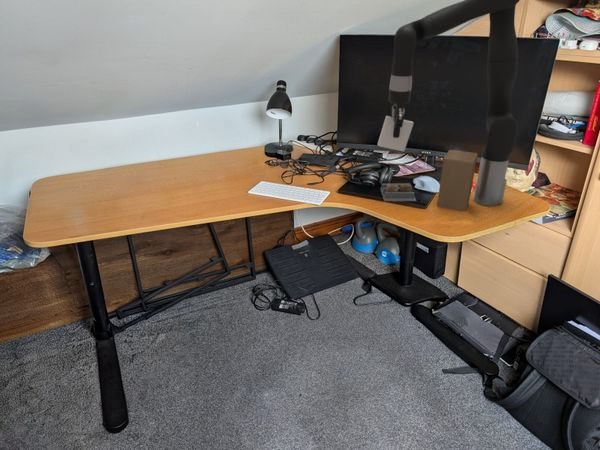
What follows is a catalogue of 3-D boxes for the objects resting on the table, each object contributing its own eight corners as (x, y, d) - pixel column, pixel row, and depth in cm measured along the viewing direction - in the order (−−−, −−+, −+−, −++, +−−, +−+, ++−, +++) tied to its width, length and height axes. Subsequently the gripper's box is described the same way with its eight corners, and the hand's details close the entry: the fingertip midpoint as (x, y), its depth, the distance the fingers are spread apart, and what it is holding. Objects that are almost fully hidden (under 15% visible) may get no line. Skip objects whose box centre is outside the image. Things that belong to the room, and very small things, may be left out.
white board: (403, 149, 171) (412, 121, 165) (404, 151, 169) (413, 123, 164) (377, 144, 170) (386, 115, 165) (378, 146, 168) (386, 117, 163)
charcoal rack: (410, 191, 181) (411, 183, 179) (416, 204, 170) (417, 195, 169) (379, 191, 181) (380, 183, 180) (383, 204, 171) (384, 196, 169)
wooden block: (468, 203, 170) (478, 152, 161) (464, 215, 162) (474, 162, 153) (441, 199, 174) (449, 149, 164) (436, 209, 166) (443, 157, 157)
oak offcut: (396, 194, 175) (397, 184, 173) (397, 196, 173) (398, 186, 171) (386, 194, 175) (386, 184, 173) (386, 196, 173) (387, 186, 172)
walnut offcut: (409, 194, 175) (410, 184, 173) (410, 196, 173) (411, 186, 171) (399, 194, 175) (400, 184, 173) (400, 196, 173) (400, 186, 171)
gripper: (414, 92, 153) (409, 142, 161) (407, 84, 165) (402, 130, 173) (392, 92, 153) (387, 142, 161) (386, 84, 165) (382, 130, 173)
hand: (395, 136), depth 167 cm, fingers closed on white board, 2 cm apart
